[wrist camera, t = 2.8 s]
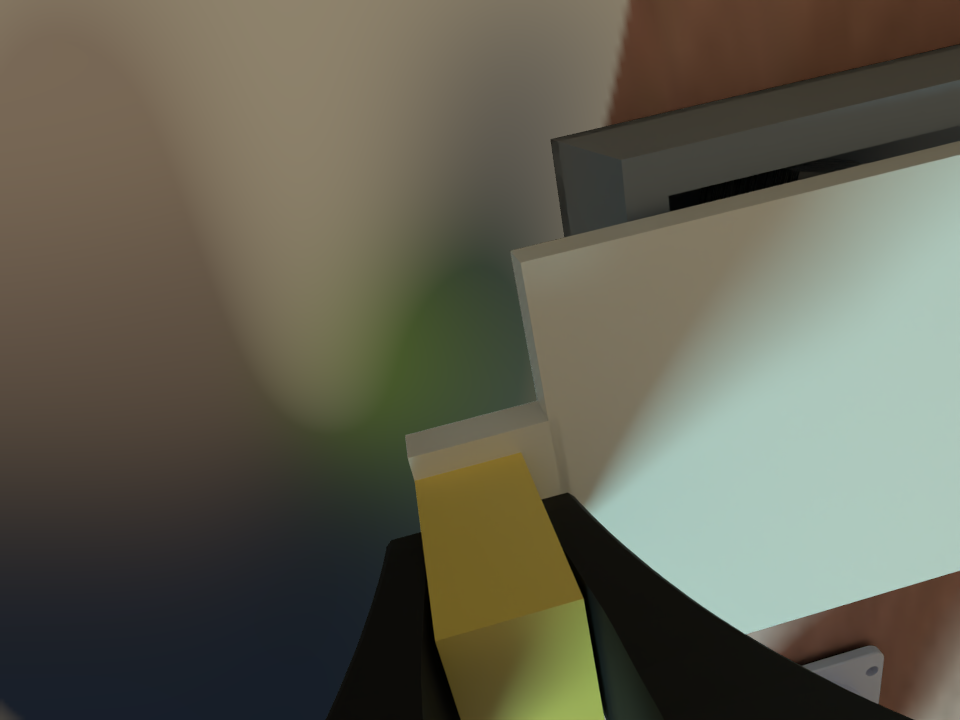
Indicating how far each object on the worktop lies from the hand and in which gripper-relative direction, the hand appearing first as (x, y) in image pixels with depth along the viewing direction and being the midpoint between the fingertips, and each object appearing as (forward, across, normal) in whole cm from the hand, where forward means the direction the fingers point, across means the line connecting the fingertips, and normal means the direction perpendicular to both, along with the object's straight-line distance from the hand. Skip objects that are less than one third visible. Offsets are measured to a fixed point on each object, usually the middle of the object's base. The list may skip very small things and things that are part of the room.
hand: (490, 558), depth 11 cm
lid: (+2, -7, 0) cm, 7 cm away
